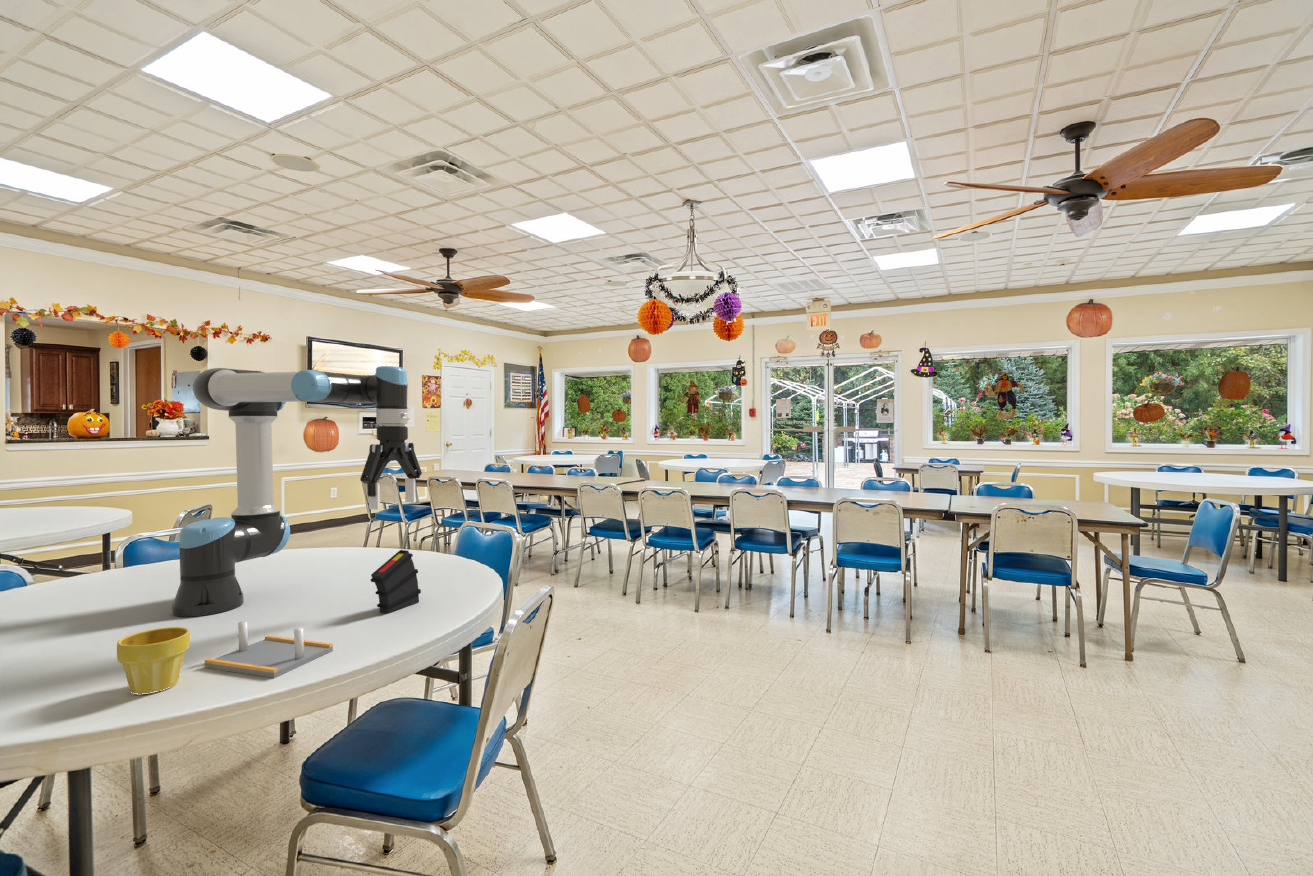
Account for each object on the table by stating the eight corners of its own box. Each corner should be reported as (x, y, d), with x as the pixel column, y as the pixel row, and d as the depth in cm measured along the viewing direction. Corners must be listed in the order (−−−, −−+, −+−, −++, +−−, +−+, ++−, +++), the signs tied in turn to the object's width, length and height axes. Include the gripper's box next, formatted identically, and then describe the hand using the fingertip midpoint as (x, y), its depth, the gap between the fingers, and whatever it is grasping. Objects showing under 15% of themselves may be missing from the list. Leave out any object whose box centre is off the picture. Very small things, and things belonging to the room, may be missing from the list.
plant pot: (204, 675, 113) (203, 625, 113) (160, 700, 103) (159, 645, 103) (150, 675, 113) (149, 626, 113) (101, 701, 103) (99, 646, 103)
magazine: (429, 593, 162) (410, 550, 156) (395, 627, 152) (373, 582, 145) (419, 591, 164) (400, 548, 158) (384, 625, 153) (363, 580, 147)
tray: (204, 667, 117) (203, 633, 117) (268, 642, 130) (267, 611, 130) (274, 678, 112) (273, 642, 112) (332, 650, 125) (332, 618, 125)
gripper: (369, 425, 140) (370, 513, 140) (434, 425, 164) (435, 500, 164) (343, 425, 141) (344, 511, 142) (411, 425, 166) (412, 499, 166)
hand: (393, 505), depth 153 cm, fingers open, 13 cm apart
